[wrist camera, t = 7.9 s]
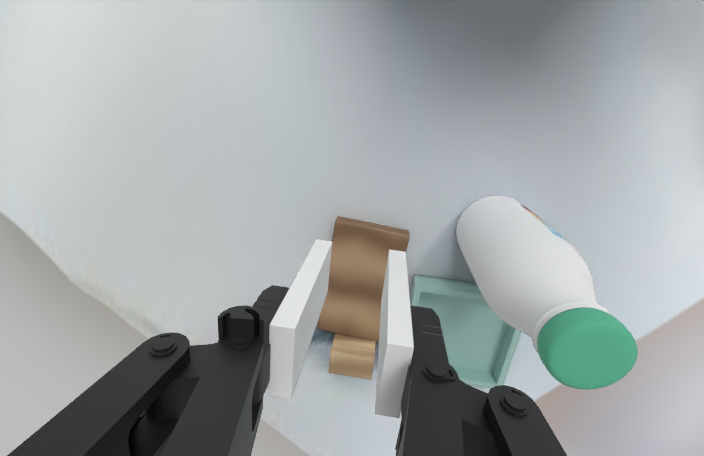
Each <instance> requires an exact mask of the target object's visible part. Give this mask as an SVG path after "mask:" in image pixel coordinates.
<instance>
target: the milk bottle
mask: <svg viewBox="0 0 704 456" xmlns="http://www.w3.org/2000/svg"><path fill="white" fill-rule="evenodd" d="M456 237H457V241H458V244H459V247H460V249H461V251H462V253H463V256H464V258H465V260H466V262H467V264H468V267H469V269H470V271H471V273H472V275H473V277H474V279H475V281H476V283H477V285H478V287H479V289H480V291H481V293H482V295H483V297H484V299H485V300H486V302H487V303H488V305H489V306H490V307H491V309H492V310H493V311H494V312H495V313H496V314H497V315H498V316H499V317H500V318H501V319H502V320H503V321H505V322H506V323H507V324H509V325H510V326H512V327H514V328H515V329H517V330H519V331H521V332H523V333H525V334H527V335H528V336H530V337H531V338H532V339H533V344H534V347H535V349H536V351H537V352H538V354H539V356H540V358H541V360H542V362H543V364H544V365H545V367H546V368H547V370H548V371H549V373H550V374H551V375H552V376H553V377H554V378H555V379H556V380H558V381H559V382H561V383H562V384H564V385H566V386H569V387H572V388H577V389H596V388H601V387H605V386H608V385H611V384H613V383H615V382H617V381H618V380H620V379H621V378H623V377H624V376H625V375H626V374H627V373H628V372H629V371H630V370H631V369H632V367H633V365H634V364H635V361H636V359H637V352H638V351H637V345H636V342H635V340H634V338H633V336H632V334H631V333H630V332H629V331H628V330H627V329H626V327H625V326H624V325H623V324H622V323H621V322H619V321H618V320H617V319H616V318H615V317H614V316H613V315H612V314H611V313H610V312H609V311H608V310H607V309H606V308H604V307H602V306H600V305H598V304H597V302H596V298H595V290H594V283H593V279H592V276H591V273H590V270H589V268H588V266H587V264H586V263H585V261H584V259H583V258H582V257H581V255H580V254H579V253H578V251H577V250H576V249H575V248H574V247H573V246H572V245H571V244H570V243H569V242H567V241H566V240H565V239H564V238H563V237H562V236H561V235H560V234H558V233H557V232H556V231H555V230H554V229H552V228H551V227H550V226H549V225H548V224H546V223H545V222H544V221H543V220H542V219H540V218H539V217H538V216H537V215H535V214H534V213H533V212H532V211H530V210H529V209H528V208H527V207H525V206H524V205H523V204H521V203H520V202H518V201H517V200H515V199H513V198H510V197H507V196H500V195H495V196H488V197H484V198H482V199H479V200H477V201H475V202H474V203H472V204H471V205H470V206H469V207H467V208H466V209H465V211H464V212H463V213H462V215H461V216H460V218H459V221H458V223H457V228H456Z"/></svg>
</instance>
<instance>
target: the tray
mask: <svg viewBox="0 0 704 456" xmlns="http://www.w3.org/2000/svg"><path fill="white" fill-rule="evenodd" d="M410 305H412V306H419V307H425V308H432V309H433V310H434V312H435V313H436V314H437V315H438V317H439V319H440V323H441V328H442V333H443V337H444V342H445V347H446V351H447V356H448V361H449V364H450V365H451V366H452V367H453V368H454V369H455V370H456V372H457V374H458V377H459V379H460V380H461V381H463V382H464V383H465V384H469V385H475V386H481V387H487V388H493V387H495V386H501V385H503V384H504V381H505V378H506V375H507V372H508V369H509V366H510V363H511V360H512V357H513V355H514V352H515V349H516V346H517V343H518V340H519V337H520V334H521V331H519V330H517V329H515V328H514V327H512V326H510V325H509V324H507V323H506V322H505V321H503V320H502V319H501V318H500V317H499V316H498V315H497V314H496V313H495V312H494V311H493V310H492V309H491V307H490V306H489V305H488V303H487V302H486V300H485V299H484V297H483V295H482V293H481V291H480V289H479V287H478V285H477V283H471V282H464V281H457V280H450V279H443V278H437V277H430V276H423V275H416V274H414V278H413V283H412V288H411V294H410Z"/></svg>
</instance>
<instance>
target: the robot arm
mask: <svg viewBox="0 0 704 456" xmlns="http://www.w3.org/2000/svg"><path fill="white" fill-rule="evenodd" d="M331 250H332V241H326V240H318V239H316V241H315V243H314V245H313V246H312V248H311V250H310V252H309V254H308V256H307V257H306V259H305V261H304V263H303V265H302V266H301V268H300V270H299V272H298V274H297V276H296V277H295V279H294V281H293V283H292V285H291V287H290V288H287V287H280V286H273V285H272V286H270V287H269V288H267V289H266V290H264V291H263V292H262V293H261V295H260V296H259V297H258V299H257V301H256V302H255V303H254V305H253V307H251V306H236V307H232V308H229V309H227V310H225V311H223V312H222V313H221V314H220V315H219V316H218V332H219V341H218V343H214V344H208V345H196V346H190V344H189V340H188V339H187V337H186V336H184V335H182V334H180V333H165V334H160V335H157V336H154V337H152V338H150V339H148V340H147V341H145V342H144V343H142V344H141V345H140V346H139V347H138V348H136V349H135V350H134V351H133V352H132V353H130V354H129V355H128V356H127V357H126V358H124V359H123V360H122V361H121V362H120V363H118V364H117V365H116V366H115V367H114V368H112V369H111V370H110V371H109V372H107V373H106V374H105V375H104V376H103V377H101V378H100V379H99V380H98V381H97V382H95V383H94V384H93V385H92V386H91V387H89V388H88V389H87V390H86V391H85V392H84V393H82V394H81V395H80V396H79V397H77V398H76V399H75V400H74V401H73V402H71V403H70V404H69V405H68V406H67V407H65V408H64V409H63V410H62V411H60V412H59V413H58V414H57V415H56V416H55V417H53V418H52V419H51V420H50V421H49V422H47V423H46V424H45V425H44V426H42V427H41V428H40V429H39V430H38V431H36V432H35V433H34V434H33V435H32V436H30V437H29V438H28V439H27V440H26V441H24V442H23V443H22V444H21V445H20V446H18V447H17V448H16V449H15V450H13V451H12V452H11V453H10V454H9V455H7V456H251V452H252V448H253V444H254V440H255V436H256V432H257V429H258V424H259V421H260V417H261V413H262V409H263V395H264V393H265V390H266V388H267V386H268V395H269V396H275V397H281V398H286V399H292V396H293V393H294V390H295V387H296V384H297V381H298V378H299V375H300V372H301V369H302V366H303V363H304V360H305V357H306V354H307V352H308V349H309V346H310V343H311V340H312V337H313V334H314V331H315V328H316V325H317V322H318V319H319V316H320V313H321V310H322V307H323V304H324V301H325V298H326V295H327V292H328V283H329V272H330V261H331ZM400 412H401V414H402V420H401V425H400V430H399V434H398V439H397V444H396V448H395V450H397V451H396V456H567V455H566V453H565V452H564V450H563V448H562V446H561V445H560V443H559V441H558V440H557V438H556V436H555V435H554V433H553V431H552V430H551V428H550V426H549V424H548V423H547V421H546V419H545V418H544V416H543V414H542V412H541V411H540V409H539V407H538V406H537V405H536V404H535V402H534V401H533V400H532V399H531V398H530V397H529V396H527V395H526V394H525V393H523V392H522V391H520V390H518V389H515V388H513V387H509V386H505V385H501V386H495V387H493V388H491V389H490V391H489V393H485V392H483V391H480V390H478V389H476V388H473V387H471V386H469V385H467V384H465V383H464V382H463V381H461V380H460V379H459V377H458V374H457V372H456V370H455V369H454V368H453V367H452V366H451V365H450V364H449V361H448V356H447V351H446V347H445V342H444V337H443V333H442V328H441V323H440V319H439V317H438V315H437V314H436V313H435V312H434V310H433V309H432V308H425V307H419V306H412V305H410V297H409V285H408V273H407V262H406V252H404V251H397V250H390V249H389V254H388V261H387V267H386V273H385V280H384V286H383V292H382V299H381V315H380V333H379V351H378V369H377V387H376V405H375V414H379V415H384V416H390V417H396V418H399V417H400Z"/></svg>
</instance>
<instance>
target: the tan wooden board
mask: <svg viewBox="0 0 704 456" xmlns="http://www.w3.org/2000/svg"><path fill="white" fill-rule="evenodd" d="M408 241H409V231H408V230H403V229H398V228H393V227H388V226H383V225H379V224H374V223H369V222H364V221H359V220H354V219H349V218H344V217H339V216H338V218H337V220H336V222H335V228H334V234H333V240H332V250H331V261H330V272H329V283H328V292H327V295H326V298H325V301H324V304H323V307H322V310H321V313H320V317H319V323H318V329H322V330H326V331H331V332H336V333H340V334H345V335H349V336H354V337H358V338H363V339H367V340H372V341H377V342H379V333H380V315H381V299H382V292H383V286H384V280H385V273H386V267H387V261H388V254H389V249H390V250H397V251H404V252H406V249H407V245H408Z"/></svg>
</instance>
